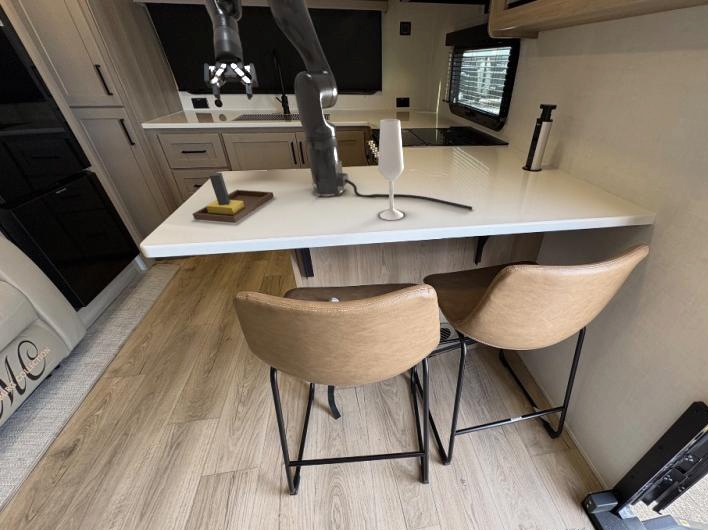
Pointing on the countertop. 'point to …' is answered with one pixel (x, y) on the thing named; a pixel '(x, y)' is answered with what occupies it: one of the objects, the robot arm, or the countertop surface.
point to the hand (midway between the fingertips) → (233, 97)
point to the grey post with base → (223, 198)
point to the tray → (248, 197)
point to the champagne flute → (390, 160)
